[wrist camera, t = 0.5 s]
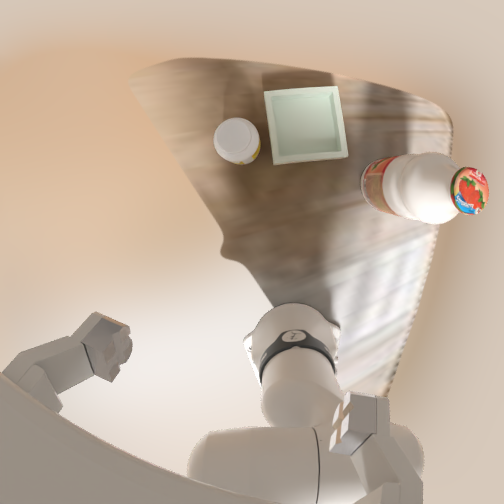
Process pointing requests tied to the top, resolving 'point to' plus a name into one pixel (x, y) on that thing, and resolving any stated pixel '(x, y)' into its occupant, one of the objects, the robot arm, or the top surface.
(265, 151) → the top surface
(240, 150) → the supplement bottle
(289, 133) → the sage tray
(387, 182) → the fruit juice
